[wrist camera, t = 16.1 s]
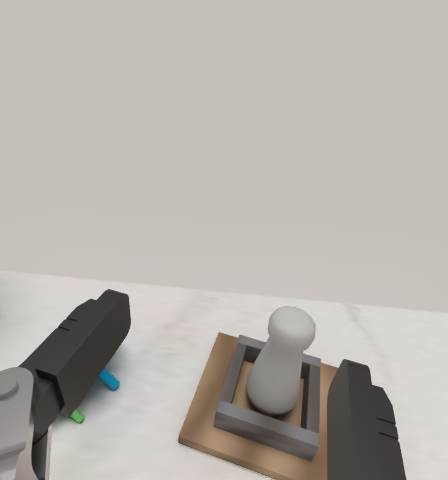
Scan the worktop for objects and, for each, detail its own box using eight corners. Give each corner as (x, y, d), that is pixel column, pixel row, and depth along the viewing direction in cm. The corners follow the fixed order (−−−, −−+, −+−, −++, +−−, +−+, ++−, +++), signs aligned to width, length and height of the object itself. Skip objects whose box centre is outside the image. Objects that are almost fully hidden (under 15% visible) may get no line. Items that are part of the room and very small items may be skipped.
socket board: (178, 442, 31) (179, 420, 29) (218, 338, 43) (221, 316, 41) (339, 502, 29) (354, 483, 26) (335, 373, 40) (345, 352, 38)
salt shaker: (276, 437, 32) (309, 357, 25) (232, 400, 34) (250, 319, 27) (302, 396, 36) (336, 318, 29) (261, 366, 38) (283, 288, 31)
